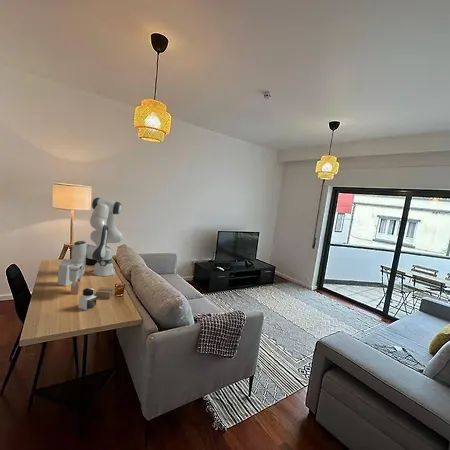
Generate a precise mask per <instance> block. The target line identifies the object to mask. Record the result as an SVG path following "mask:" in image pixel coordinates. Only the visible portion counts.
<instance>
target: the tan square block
mask: <svg viewBox="0 0 450 450" xmlns="http://www.w3.org/2000/svg"><path fill="white" fill-rule="evenodd" d="M113 295H114V287H102V286H101V287H99V288H98V289H97V290H96V292H95V296H96V297H97V298H96V300H97V299H101V300H110V299H111V298H112V296H113Z"/></svg>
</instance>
